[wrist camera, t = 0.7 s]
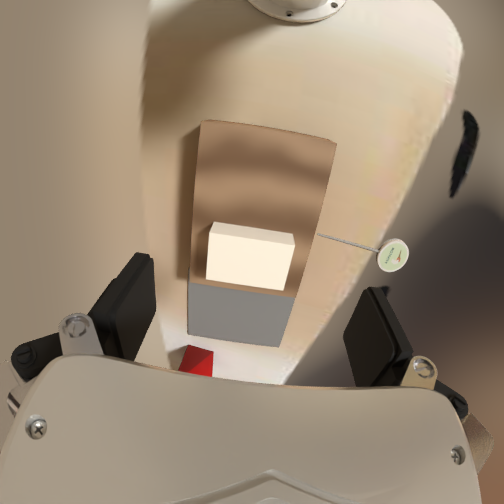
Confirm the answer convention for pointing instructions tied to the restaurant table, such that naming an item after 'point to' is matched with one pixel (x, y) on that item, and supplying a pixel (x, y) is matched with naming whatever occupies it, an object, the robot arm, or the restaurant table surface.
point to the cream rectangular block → (249, 256)
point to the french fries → (197, 361)
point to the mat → (237, 314)
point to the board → (258, 190)
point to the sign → (385, 253)
